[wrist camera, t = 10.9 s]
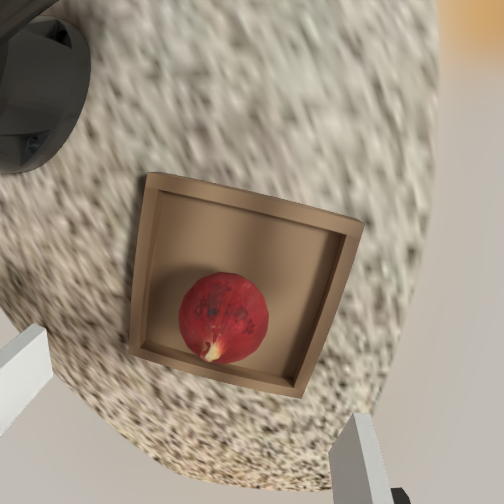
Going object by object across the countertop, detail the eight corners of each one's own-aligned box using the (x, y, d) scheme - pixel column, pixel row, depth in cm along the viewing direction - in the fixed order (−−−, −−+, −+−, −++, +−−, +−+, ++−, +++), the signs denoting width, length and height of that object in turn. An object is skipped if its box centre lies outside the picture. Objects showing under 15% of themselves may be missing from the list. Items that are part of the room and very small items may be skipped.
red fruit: (194, 255, 23) (154, 298, 15) (273, 261, 23) (269, 310, 15) (195, 325, 25) (163, 387, 17) (267, 332, 24) (261, 399, 17)
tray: (137, 342, 26) (128, 353, 25) (158, 171, 22) (147, 172, 20) (300, 384, 26) (301, 398, 24) (357, 219, 22) (364, 224, 20)
